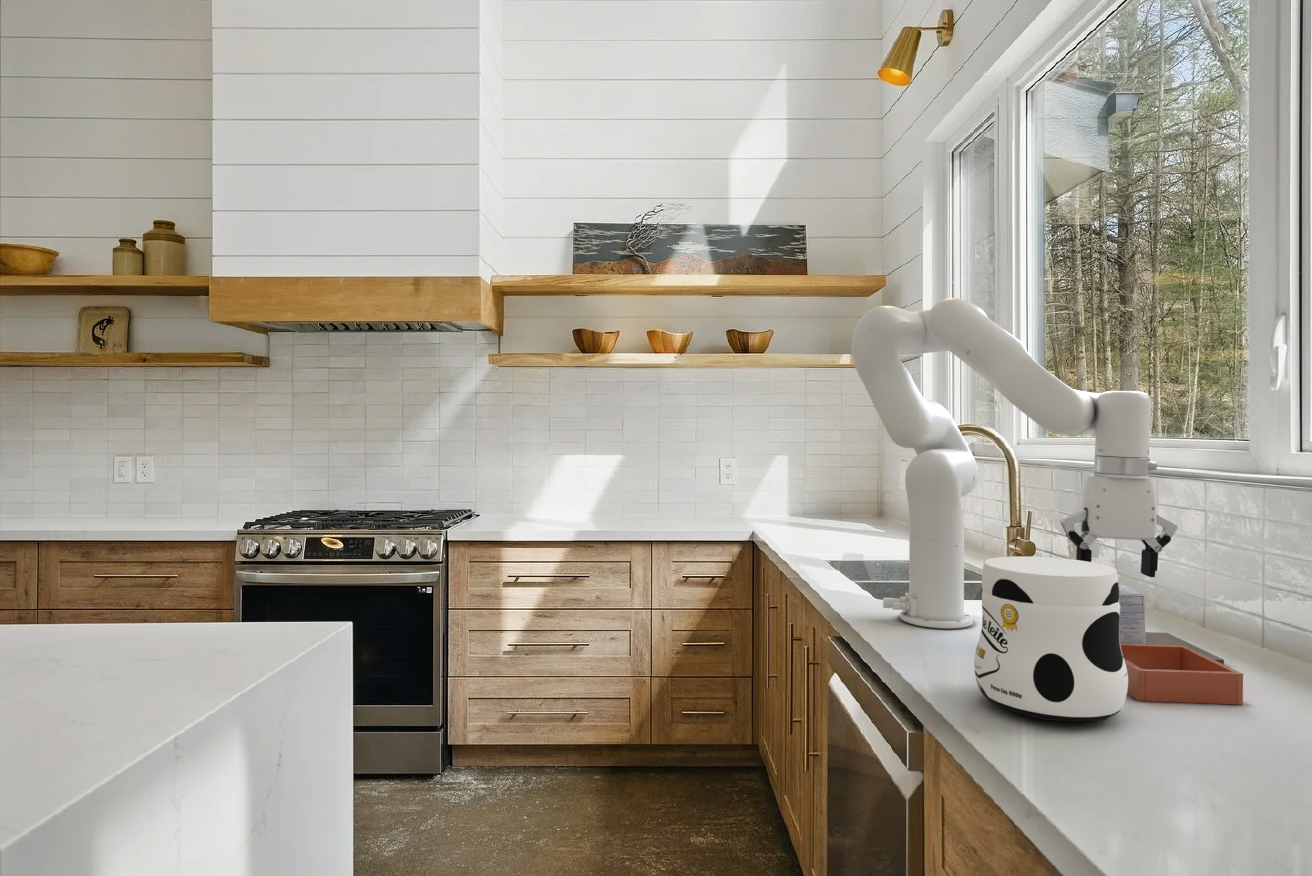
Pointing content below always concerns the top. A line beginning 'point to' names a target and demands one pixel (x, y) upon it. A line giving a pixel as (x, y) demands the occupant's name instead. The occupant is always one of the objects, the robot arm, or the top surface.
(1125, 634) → the medicine box
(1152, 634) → the walnut board
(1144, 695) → the orange hollow square frame
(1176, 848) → the top surface
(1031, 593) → the milk container
